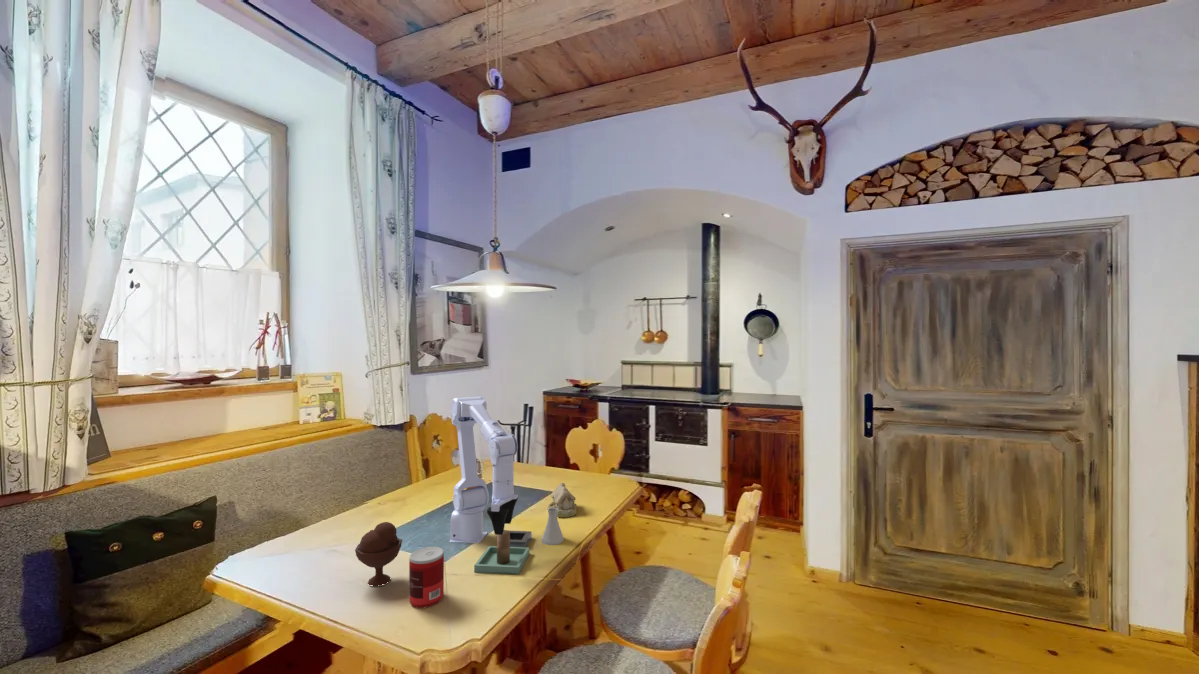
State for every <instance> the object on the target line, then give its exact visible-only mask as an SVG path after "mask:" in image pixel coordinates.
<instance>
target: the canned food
mask: <svg viewBox="0 0 1199 674" xmlns="http://www.w3.org/2000/svg"><path fill="white" fill-rule="evenodd" d="M444 555H445V554H444V549H443V548H441V547H439V546H427V547H421V548H418V549H417V550H414V551H413V552H412V553H410V555H409V560H408V561H409V563H408V564H409V570H408V572H409V573H408V575H409V576H408V577H409V579H408V583H409V584H408V585H409V588H408V590H409V603H410V605H411V606H412V607H414V608H418V609H423V608H424V607H426V608H429V606H430V607H433V606H435V605H436V603H437V604H438V603H440V602H441V601H442V599H443V597H444V590H445V587H444V583H445V582H444V578H445V576H444V575H445V572H444V571H445V560H444V559H445V557H444ZM434 604H435V605H434ZM432 605H433V606H432Z"/></svg>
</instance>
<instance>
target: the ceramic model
mask: <svg viewBox="0 0 1199 674" xmlns="http://www.w3.org/2000/svg"><path fill="white" fill-rule="evenodd" d="M551 498H552V501H551V502H549V504H548V506H547V510H548V509H549V508H558V512H557V517H565V518H569V517H570V516H571V517H574V516H575V515H577V513H578V511H577V508H578V506H577V505H578V504H577V503H575V502H576V497H575V496H574V495H573V494H572V493H571V492H570V490H568V488H567V487H566V483H564V482H562V483H559V484H558V485H557V486H556V488H554V490H553V491H552V493H551Z"/></svg>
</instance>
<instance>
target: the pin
mask: <svg viewBox="0 0 1199 674" xmlns="http://www.w3.org/2000/svg"><path fill="white" fill-rule="evenodd" d="M510 531H511V530H507V529H504V532H503V534H502V535H496V546H497V563H498V564H501V565H504V564H507V563H509V562H510Z"/></svg>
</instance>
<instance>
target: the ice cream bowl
mask: <svg viewBox="0 0 1199 674" xmlns="http://www.w3.org/2000/svg"><path fill="white" fill-rule="evenodd" d="M397 533H398V532H397V528H396V526H395V525H394V524H392V523H391V522H389V521H384V522H381V523H379V524H377V525H376V526H375V527H374V529H371V530H369V531H368V532H366V533H365V534H364V535H363V536H362V537H361V540H360V542H359V543H358V544H357V546H356V547H355V549H354V551H355V556H356V557H357V559H358V561H360V563H362V564H364V565H365V566H366V567H369V568H374V569H375V570H374V571H375V574H374V575H373V576H372V577H371V578H369V579H368V581H367V584H369V585H373V586H378V585H382V584H386V583H387V582H389V581H390V582H391V580H390V578H391V576H390V575H388V574H385V573H384V567H385V566H386V565H388V564H390V563H391V562H393V561H394V560H395V558H397V557H398V555H399V553H400V550H401V547H402V544H403V539H401V538H399V537H398V535H397ZM390 582H389V583H390ZM387 584H388V583H387ZM387 584H386V585H387Z"/></svg>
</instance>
